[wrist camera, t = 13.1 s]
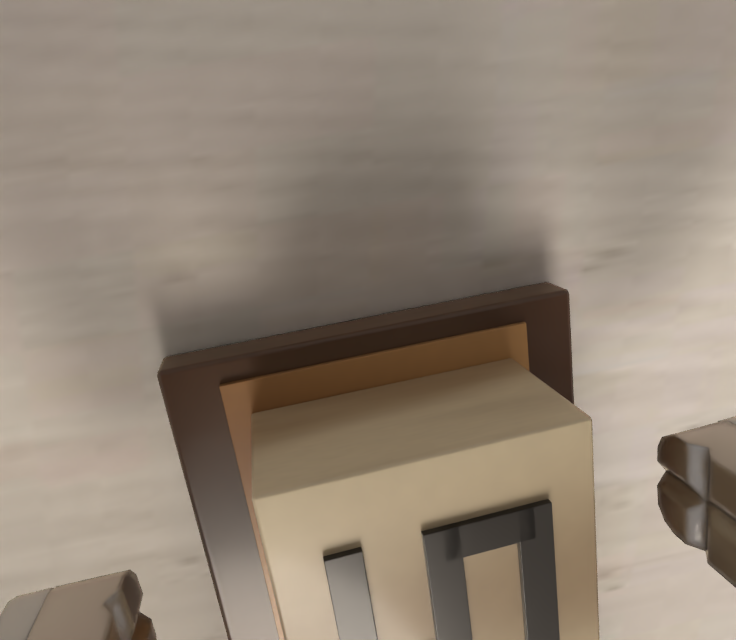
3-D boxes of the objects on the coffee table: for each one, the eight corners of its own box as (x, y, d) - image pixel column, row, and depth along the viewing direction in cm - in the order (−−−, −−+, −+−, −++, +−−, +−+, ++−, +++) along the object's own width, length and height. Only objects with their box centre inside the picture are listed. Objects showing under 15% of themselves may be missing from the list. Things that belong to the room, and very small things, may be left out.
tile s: (250, 412, 9) (250, 502, 7) (511, 356, 10) (598, 420, 7) (299, 633, 11) (315, 776, 8) (527, 571, 11) (605, 685, 9)
